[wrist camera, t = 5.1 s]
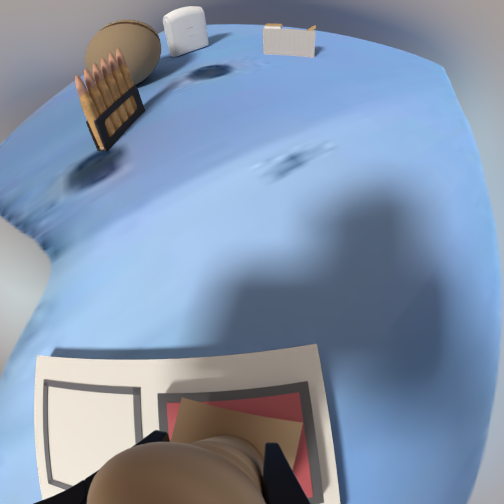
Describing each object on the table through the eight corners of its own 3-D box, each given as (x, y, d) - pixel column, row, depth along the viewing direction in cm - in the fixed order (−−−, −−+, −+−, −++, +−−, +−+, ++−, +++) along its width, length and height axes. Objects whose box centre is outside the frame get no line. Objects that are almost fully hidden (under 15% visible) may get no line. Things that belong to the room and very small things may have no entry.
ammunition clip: (107, 151, 34) (76, 77, 24) (97, 151, 34) (66, 80, 24) (145, 110, 39) (126, 44, 29) (135, 110, 40) (116, 46, 29)
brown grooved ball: (180, 75, 46) (167, 7, 34) (110, 110, 41) (85, 37, 29) (148, 66, 53) (135, 11, 40) (90, 95, 48) (70, 38, 35)
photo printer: (175, 58, 54) (166, 12, 43) (167, 56, 55) (158, 13, 45) (211, 46, 57) (206, 3, 47) (202, 44, 59) (196, 3, 48)
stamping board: (313, 349, 19) (317, 343, 18) (337, 517, 12) (342, 524, 11) (47, 360, 19) (36, 355, 17) (53, 498, 12) (41, 500, 10)
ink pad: (305, 383, 16) (307, 380, 15) (320, 497, 12) (324, 503, 11) (163, 395, 16) (156, 393, 15) (174, 506, 12) (168, 511, 11)
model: (266, 52, 53) (265, 22, 46) (314, 55, 51) (315, 25, 44) (263, 55, 51) (262, 24, 44) (314, 59, 49) (315, 27, 43)
